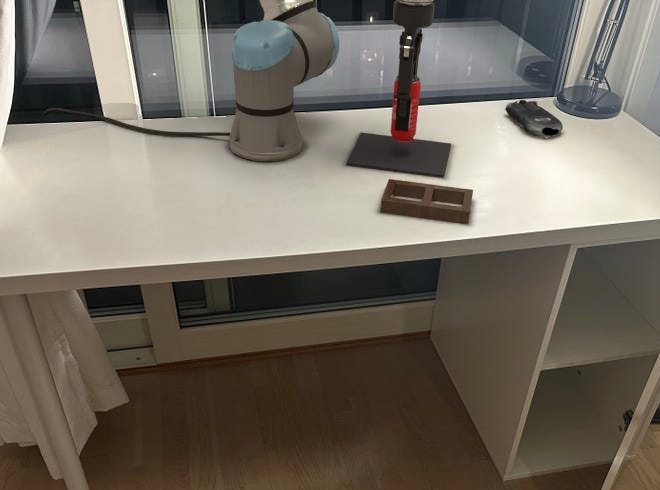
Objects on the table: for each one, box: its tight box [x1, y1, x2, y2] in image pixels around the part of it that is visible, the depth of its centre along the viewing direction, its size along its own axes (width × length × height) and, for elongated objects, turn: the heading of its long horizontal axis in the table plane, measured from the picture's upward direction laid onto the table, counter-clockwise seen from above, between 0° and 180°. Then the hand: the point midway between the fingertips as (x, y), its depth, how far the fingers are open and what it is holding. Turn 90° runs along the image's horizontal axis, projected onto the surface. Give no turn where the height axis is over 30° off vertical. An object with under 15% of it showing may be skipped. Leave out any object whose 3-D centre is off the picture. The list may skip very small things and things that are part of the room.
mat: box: [345, 131, 452, 179], centre depth 148 cm, size 20×16×1 cm
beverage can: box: [390, 75, 422, 142], centre depth 142 cm, size 5×5×12 cm
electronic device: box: [504, 99, 564, 139], centre depth 162 cm, size 9×6×15 cm
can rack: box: [379, 178, 474, 225], centre depth 130 cm, size 16×9×2 cm, turn 79°
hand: (403, 124), depth 144 cm, fingers closed on beverage can, 5 cm apart
